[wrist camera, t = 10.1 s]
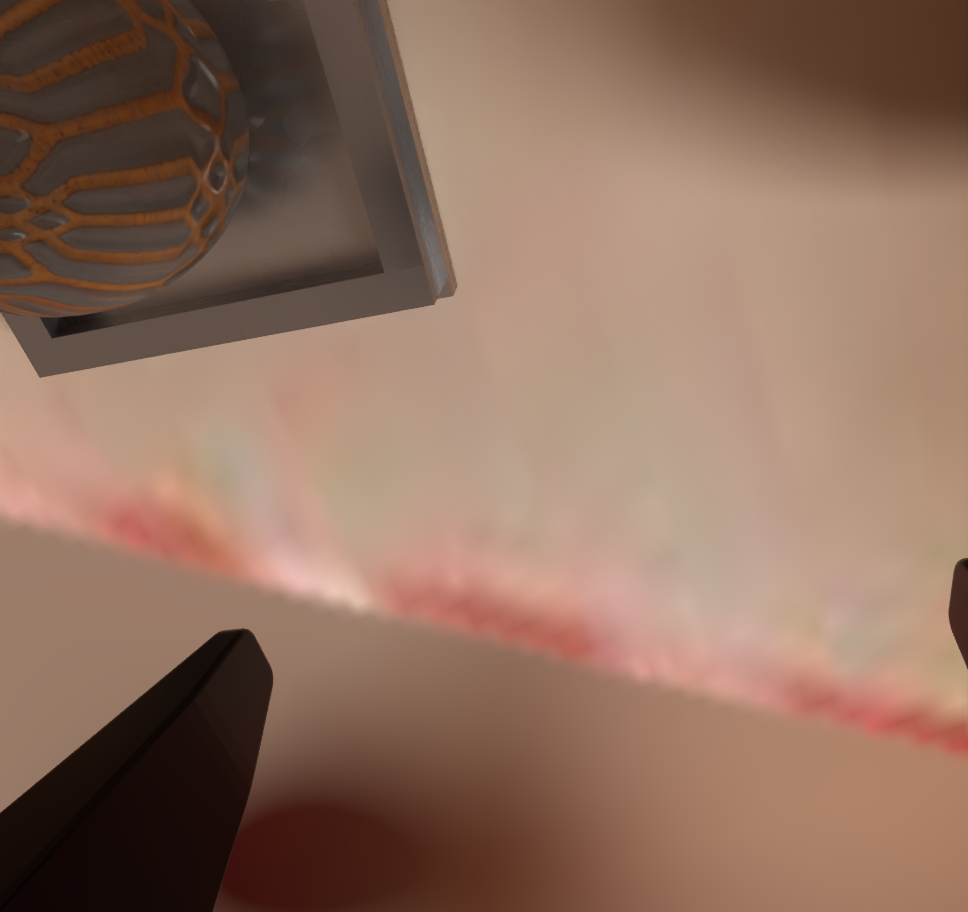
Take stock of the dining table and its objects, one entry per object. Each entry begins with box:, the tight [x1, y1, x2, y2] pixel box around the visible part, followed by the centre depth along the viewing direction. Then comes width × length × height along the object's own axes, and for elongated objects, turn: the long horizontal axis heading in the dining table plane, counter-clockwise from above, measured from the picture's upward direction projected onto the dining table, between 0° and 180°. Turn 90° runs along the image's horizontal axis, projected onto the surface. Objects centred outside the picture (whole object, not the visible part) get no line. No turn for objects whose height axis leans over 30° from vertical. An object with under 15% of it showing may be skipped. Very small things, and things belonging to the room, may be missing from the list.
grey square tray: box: [2, 0, 457, 378], centre depth 17 cm, size 12×12×2 cm
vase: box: [0, 0, 249, 317], centre depth 13 cm, size 7×7×9 cm
